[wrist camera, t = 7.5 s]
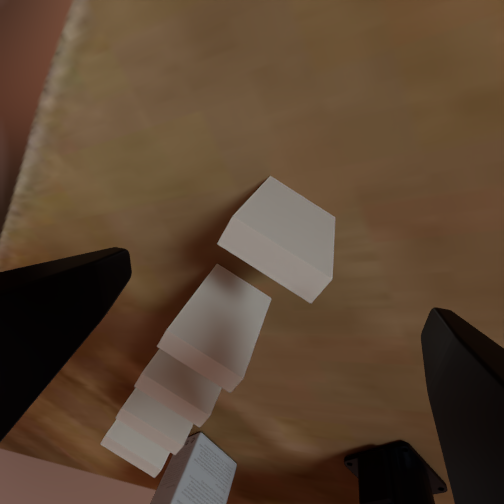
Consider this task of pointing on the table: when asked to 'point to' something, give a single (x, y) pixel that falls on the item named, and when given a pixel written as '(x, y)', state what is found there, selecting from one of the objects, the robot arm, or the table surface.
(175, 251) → the table surface
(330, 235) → the domino
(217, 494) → the skincare box
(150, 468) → the domino
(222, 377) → the domino
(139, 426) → the domino
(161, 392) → the domino
